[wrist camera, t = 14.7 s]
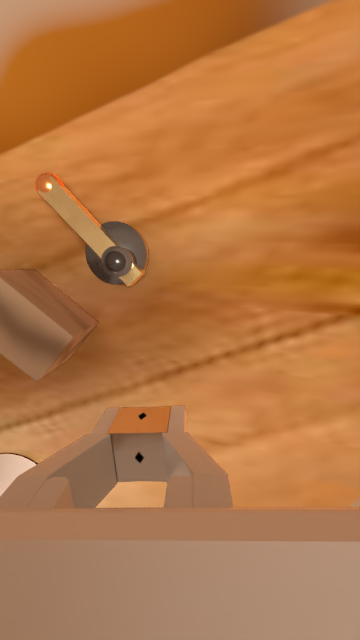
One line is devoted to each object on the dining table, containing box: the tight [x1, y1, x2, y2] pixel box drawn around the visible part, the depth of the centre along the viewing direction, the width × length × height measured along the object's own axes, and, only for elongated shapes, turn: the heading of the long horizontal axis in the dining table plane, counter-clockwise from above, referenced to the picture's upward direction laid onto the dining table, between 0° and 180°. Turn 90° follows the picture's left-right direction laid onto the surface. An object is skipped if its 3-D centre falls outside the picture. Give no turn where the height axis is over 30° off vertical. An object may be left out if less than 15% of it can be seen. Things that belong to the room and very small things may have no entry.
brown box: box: [0, 269, 99, 382], centre depth 33 cm, size 8×14×8 cm, turn 49°
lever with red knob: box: [35, 172, 149, 287], centre depth 31 cm, size 17×8×6 cm, turn 43°
